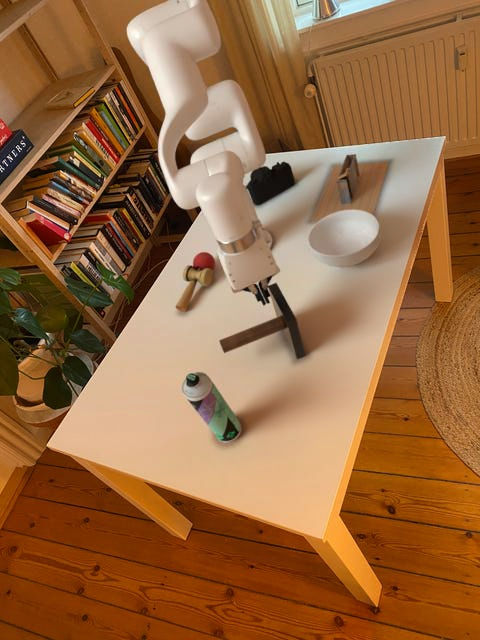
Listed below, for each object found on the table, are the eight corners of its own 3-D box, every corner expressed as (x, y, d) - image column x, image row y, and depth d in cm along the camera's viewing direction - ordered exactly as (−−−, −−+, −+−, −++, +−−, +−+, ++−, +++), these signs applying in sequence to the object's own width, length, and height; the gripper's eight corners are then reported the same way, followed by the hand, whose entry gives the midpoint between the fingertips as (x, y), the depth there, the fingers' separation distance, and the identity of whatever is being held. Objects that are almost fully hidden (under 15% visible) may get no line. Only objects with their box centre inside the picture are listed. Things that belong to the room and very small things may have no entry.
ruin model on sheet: (372, 220, 125) (366, 189, 118) (311, 221, 133) (303, 192, 126) (389, 161, 138) (385, 130, 131) (333, 165, 146) (327, 136, 139)
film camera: (284, 171, 152) (276, 146, 146) (298, 184, 146) (291, 158, 139) (242, 195, 152) (232, 171, 145) (255, 209, 145) (245, 184, 138)
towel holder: (285, 321, 113) (292, 280, 105) (305, 357, 105) (313, 316, 97) (212, 333, 109) (213, 291, 101) (226, 372, 101) (228, 329, 93)
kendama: (200, 316, 125) (225, 260, 132) (185, 303, 121) (212, 245, 128) (179, 316, 130) (204, 261, 137) (164, 303, 126) (191, 247, 133)
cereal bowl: (385, 227, 122) (382, 205, 117) (380, 276, 112) (376, 253, 107) (319, 233, 128) (313, 212, 123) (308, 279, 119) (301, 258, 114)
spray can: (215, 422, 101) (175, 368, 87) (240, 415, 100) (204, 360, 86) (217, 445, 98) (175, 394, 84) (242, 439, 97) (205, 385, 82)
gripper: (266, 209, 94) (290, 275, 107) (196, 242, 95) (228, 303, 108) (279, 230, 89) (302, 296, 102) (205, 264, 90) (237, 326, 103)
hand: (264, 300), depth 105 cm, fingers closed
